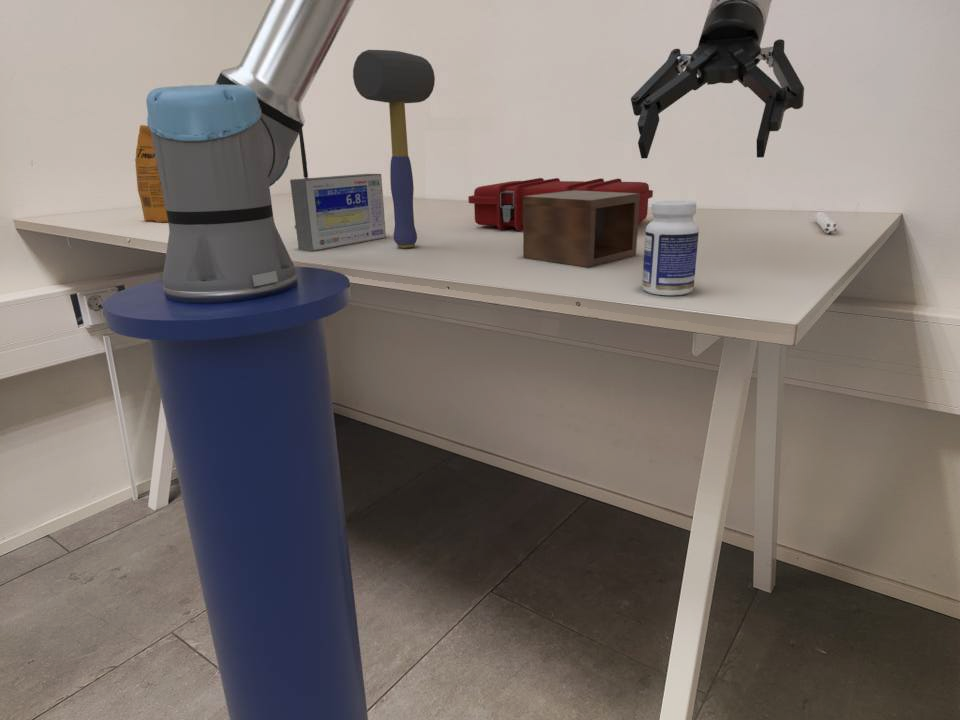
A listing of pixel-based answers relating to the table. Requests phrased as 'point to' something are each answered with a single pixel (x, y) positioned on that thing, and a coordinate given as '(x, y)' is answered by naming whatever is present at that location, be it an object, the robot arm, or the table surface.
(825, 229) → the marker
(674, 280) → the pill bottle
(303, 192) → the electronic device
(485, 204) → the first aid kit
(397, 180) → the rubber mallet
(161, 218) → the coffee package
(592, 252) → the shelf
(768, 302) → the table surface
